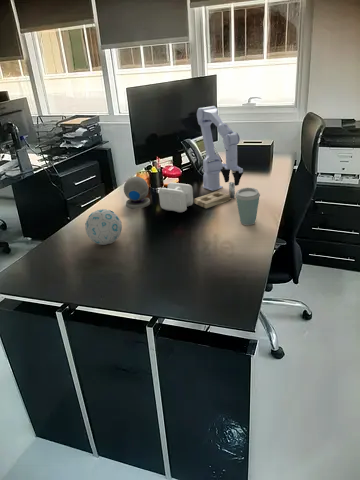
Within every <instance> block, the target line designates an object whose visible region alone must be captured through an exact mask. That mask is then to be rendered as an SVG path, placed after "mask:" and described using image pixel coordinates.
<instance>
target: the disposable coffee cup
mask: <svg viewBox="0 0 360 480" xmlns="http://www.w3.org/2000/svg"><path fill="white" fill-rule="evenodd" d="M260 197H261V193H260V192H259V190H258V189H257V188H255V187H243V188H239V189H238V190H237V191H235V201H236V206H237V210H238V217H239V221H240V224H242V225H243V226H252V225H254V224H255V223H256V221H257V217H258V216H257V215H258V209H259V203H260Z"/></svg>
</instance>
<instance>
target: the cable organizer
mask: <svg viewBox="0 0 360 480" xmlns="http://www.w3.org/2000/svg"><path fill="white" fill-rule="evenodd" d="M193 191H194V190H193V186H192V185H191V184H188V183H187V184H186V183H181V182H180V183H179V182H172V181H171V182H169V183H168V184H167V188H166V187H161V188H160V189H158V197H159V205H160V208H161V209H163V210H165V211H172V212H177V213H183V212H185V211H187V210H188V208H187V207H189V206H192V205H193V204H194V192H193Z"/></svg>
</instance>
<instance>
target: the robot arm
mask: <svg viewBox="0 0 360 480" xmlns="http://www.w3.org/2000/svg"><path fill="white" fill-rule="evenodd" d="M196 118H197V119H196V120H197V123H198V125H199V126H200V130H201V134H202V135H201V136H202V140H203V141H202V142H203V144H204V146H203V147H204V151H205V157H204V159H203V160H202V170H203V172H204V173H203V176H202V181H203V186H202V187H201V188H203V189H206V190H209V191H212V192H215V191H216V190H217V191H218V190H220V189H223V188H224V186H222V185H221V183H220V182H221V181H220V173H221V174H222V177H223V179H224V182H225V183H230V174H232V176H233V180H234V181H233V182H234V183H235V186H236V187H237V186H239V185H240V182H241V178H242V176H243V174H244V169H243V168H242V167H240V166H239V165H238V144H240V135H239V134H238V133H239V132H235V131H233V130H232V129H231V128H230V126H229V125H228V123H225V122H224V121H222V119H221V117H220V115H219V109H218V108H217V107H216V106H215V105H211V106H206V107H205V106H203V107H198V109H197V111H196ZM212 124H214V126H216V129H217V133H218V134H219V136H221V138H222V142H223V146H224V147H223V148H224V150H225V163H224V162H222V160H221V156H219V155H217V154H216V150H215V144H214V140H213V133H212V129H211V125H212ZM231 171H233V172H232V173H230V172H231Z"/></svg>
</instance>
